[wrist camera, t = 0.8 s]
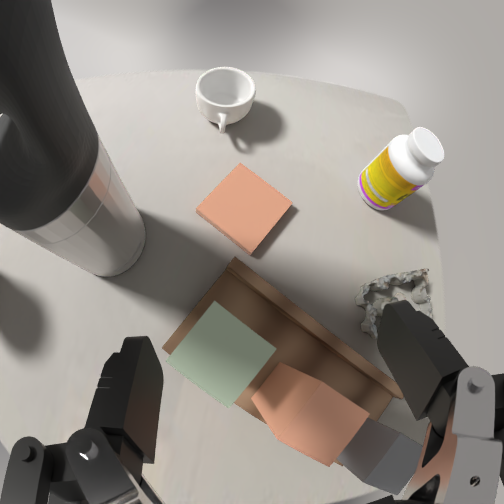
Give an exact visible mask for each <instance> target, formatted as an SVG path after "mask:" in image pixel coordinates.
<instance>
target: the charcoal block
mask: <svg viewBox="0 0 504 504" xmlns="http://www.w3.org/2000/svg"><path fill="white" fill-rule="evenodd" d="M422 448H423V446H422V445H420V444H419V443H417V442H415V441H413V440H412V439H410V438H408V437H407V436H405V435H403V434H402V433H400V432H398V431H396V430H393V429H391V428H389V427H387V426H385V425H383V424H380V423H378V422H376V421H374V420H372V419H370V418H367V419H366V420H365V422H364V423H363V425H362V426H361V427H360V429H359V430H358V431H357V433H356V434H355V435H354V437H353V438H352V439H351V441H350V442H349V443H348V445H347V446H346V447H345V448H344V450H343V451H342V452H341V453H340V455H339V456H338V457H337V458H336V459H337V460H338V461H339V462H341V463H342V464H343V465H344V466H345V467H346V468H347V469H348V470H350V471H351V472H352V473H353V474H354V475H355V476H357V477H358V478H359V479H360V480H361V481H362V482H364V483H366V484H369V485H371V486H374V487H376V488H379V489H381V490H384V491H387V492H389V493H392V494H395V495H398V494H399V493H400V491H401V490H402V489H403V488H404V486H405V485H406V484H407V483H408V481H409V480H410V478H411V477H412V476H413V475H414V473H415V471H416V469H417V466H418V462H419V459H420V455H421V452H422Z"/></svg>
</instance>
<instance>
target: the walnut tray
mask: <svg viewBox="0 0 504 504" xmlns="http://www.w3.org/2000/svg"><path fill="white" fill-rule="evenodd" d="M214 301H216V302H217V303H218V304H220V305H221V306H222V307H223V308H225V309H226V310H227V311H228V312H230V313H231V314H232V315H233V316H235V317H236V318H237V319H238V320H240V321H241V322H242V323H244V324H245V325H246V326H247V327H249V328H250V329H251V330H253V331H254V332H255V333H257V334H258V335H259V336H261V337H262V338H263V339H264V340H266V341H267V342H268V343H270V344H271V345H272V346H274V347H275V348H276V350H275V352H274V353H273V354H272V356H271V357H270V358H269V359H268V361H267V362H266V363H265V365H264V366H263V367H262V368H261V370H260V371H259V372H258V374H257V375H256V376H255V377H254V379H253V380H252V381H251V382H250V384H249V385H248V386H247V387H246V388H245V390H244V391H243V392H242V393H241V395H240V396H239V397H238V398H237V399H236V401H235V402H234V403H235V404H236V405H238V406H239V407H241V408H242V409H244V410H245V411H247V412H248V413H250V414H251V415H253V416H254V417H256V418H258V419H259V420H261V421H262V422H264V423H265V424H267V423H266V421H265V420H264V418H263V417H262V415H261V414H260V412H259V411H258V409H257V407H256V406H255V404H254V403H253V401H252V399H251V398H252V396H253V395H254V394H255V393H256V391H257V390H258V389H259V388H260V387H261V385H262V384H263V383H264V381H265V380H266V379H267V378H268V376H269V375H270V374H271V373H272V371H273V370H274V369H275V367H276V366H277V365H278V364H279V362H281V363H283V364H286V365H288V366H290V367H292V368H294V369H296V370H298V371H300V372H302V373H305V374H307V375H309V376H311V377H313V378H315V379H318V380H320V381H322V382H324V383H325V384H327V385H328V386H329V387H331V388H332V389H334V390H335V391H337V392H338V393H340V394H341V395H343V396H344V397H346V398H347V399H349V400H350V401H352V402H353V403H355V404H356V405H358V406H359V407H361V408H362V409H364V410H365V411H367V412H368V413H370V415H369V416H368V418H370V419H372V420H374V421H376V422H377V420H378V419H379V417H380V416H381V414H382V413H383V411H384V410H385V408H386V407H387V405H388V404H389V402H390V401H391V399H392V398H393V397H396V398H399V399H403V397H404V395H403V393H402V392H401V390H400V388H399V386H398V384H397V383H396V382H395V381H393V380H392V379H391V378H390V377H388V376H387V375H386V374H384V373H383V372H382V371H380V370H379V369H378V368H376V367H375V366H374V365H373V364H371V363H370V362H369V361H367V360H366V359H365V358H363V357H362V356H361V355H360V354H358V353H357V352H356V351H354V350H353V349H352V348H350V347H349V346H348V345H347V344H345V343H344V342H343V341H341V340H340V339H339V338H338V337H336V336H335V335H334V334H332V333H331V332H330V331H329V330H327V329H326V328H325V327H323V326H322V325H321V324H320V323H318V322H317V321H316V320H315V319H313V318H312V317H311V316H309V315H308V314H307V313H306V312H304V311H303V310H302V309H301V308H299V307H298V306H297V305H295V304H294V303H293V302H292V301H290V300H289V299H288V298H287V297H285V296H284V295H283V294H282V293H280V292H279V291H278V290H276V289H275V288H274V287H273V286H271V285H270V284H269V283H268V282H266V281H265V280H264V279H263V278H261V277H260V276H259V275H258V274H256V273H255V272H254V271H253V270H251V269H250V268H249V267H248V266H246V265H245V264H244V263H243V262H241V261H240V260H239V259H238V258H236V257H234V258H233V259H232V261H231V262H230V263H229V264H228V266H227V268H226V270H225V271H224V272H223V274H222V275H221V276H220V277H219V278H218V280H217V281H216V282H215V283H214V285H213V286H212V287H211V288H210V289H209V291H208V292H207V293H206V294H205V296H204V297H203V298H202V299H201V300H200V302H199V303H198V304H197V305H196V306H195V308H194V309H193V310H192V311H191V313H190V314H189V315H188V316H187V317H186V319H185V320H184V321H183V322H182V324H181V325H180V326H179V327H178V329H177V330H176V331H175V332H174V333H173V335H172V336H171V337H170V338H169V340H168V341H167V342H166V343H165V344H164V346H163V347H162V349H164V350H165V351H166V352H167V353H168V354H170V355H171V354H172V352H173V351H174V350H175V349H176V347H177V346H178V345H179V344H180V343H181V341H182V340H183V339H184V338H185V336H186V335H187V334H188V333H189V331H190V330H191V329H192V328H193V327H194V325H195V324H196V323H197V322H198V320H199V319H200V318H201V317H202V316H203V314H204V313H205V312H206V311H207V309H208V308H209V307H210V306H211V304H212V303H213V302H214ZM267 425H268V424H267ZM334 462H335V463H337V464H339V465H341V466H343V464H342V463H341V462H339V461H338V460H337V459H335V461H334Z"/></svg>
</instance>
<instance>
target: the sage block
mask: <svg viewBox="0 0 504 504" xmlns="http://www.w3.org/2000/svg"><path fill="white" fill-rule="evenodd" d="M275 350H276V348H275V347H274V346H272V345H271V344H270V343H268V342H267V341H266V340H264V339H263V338H262V337H261V336H259V335H258V334H257V333H255V332H254V331H253V330H251V329H250V328H249V327H247V326H246V325H245V324H244V323H242V322H241V321H240V320H238V319H237V318H236V317H235V316H233V315H232V314H231V313H230V312H228V311H227V310H226V309H225V308H223V307H222V306H221V305H220V304H218V303H217V302H216V301H214V302H213V303H212V304H211V306H210V307H209V308H208V309H207V311H206V312H205V313H204V314H203V316H202V317H201V318H200V319H199V320H198V322H197V323H196V324H195V325H194V327H193V328H192V329H191V330H190V331H189V333H188V334H187V335H186V336H185V338H184V339H183V340H182V341H181V343H180V344H179V345H178V346H177V347H176V349H175V350H174V351H173V352H172V354H171V355H170V356H169V357H168V358H167V360H166V362H167V363H168V364H170V365H171V366H172V367H173V368H175V369H176V370H177V371H178V372H180V373H181V374H182V375H184V376H185V377H186V378H187V379H189V380H190V381H191V382H193V383H194V384H195V385H197V386H198V387H199V388H201V389H202V390H203V391H205V392H206V393H207V394H209V395H210V396H212V397H213V398H214V399H216V400H217V401H219V402H220V403H222V404H223V405H224V406H226V407H227V408H230V407H231V405H232V404H233V403H234V402H235V401H236V399H237V398H238V397H239V396H240V395H241V393H242V392H243V391H244V390H245V388H246V387H247V386H248V385H249V384H250V382H251V381H252V380H253V379H254V377H255V376H256V375H257V374H258V372H259V371H260V370H261V368H262V367H263V366H264V365H265V363H266V362H267V361H268V359H269V358H270V357H271V356H272V354H273V353H274V352H275Z"/></svg>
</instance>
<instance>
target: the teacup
mask: <svg viewBox="0 0 504 504" xmlns="http://www.w3.org/2000/svg"><path fill="white" fill-rule="evenodd" d="M255 93H256V87H255V83H254V81H253V79H252V78H251V77H250V76H249V75H248V74H247V73H245V72H243V71H241V70H239V69H236V68H231V67H219V68H214V69H211V70H209V71H207V72H205V73H204V74H202V75H201V76H200V78H199V79H198V81H197V84H196V101H197V106H198V109H199V111H200V113H201V114H202V115H203V116H204V117H205V118H206V119H207V120H209V121H211V122H213V123H216V124H218V125H219V128H220V133H224V132H225V127H226V125H227V124H232V123H235V122H237V121H239V120H241V119H242V118H243V117H244V116H246V114H247V113H248V112H249V110H250V108H251V106H252V103H253V101H254V98H255Z"/></svg>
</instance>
